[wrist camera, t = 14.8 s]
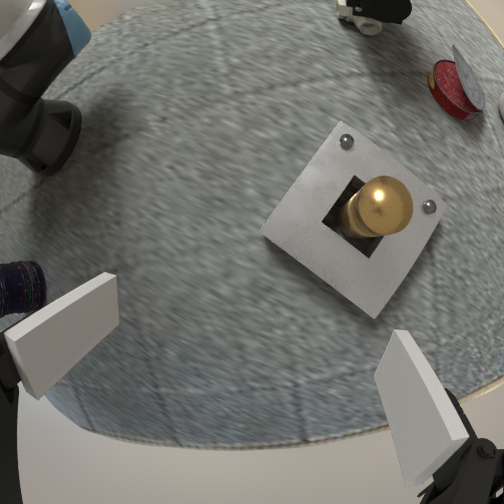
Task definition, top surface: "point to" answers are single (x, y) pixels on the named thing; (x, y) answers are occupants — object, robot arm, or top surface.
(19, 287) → the storage jar
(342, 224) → the gold metal cylinder
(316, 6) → the top surface
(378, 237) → the jig
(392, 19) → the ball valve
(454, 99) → the canned food
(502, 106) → the teacup
